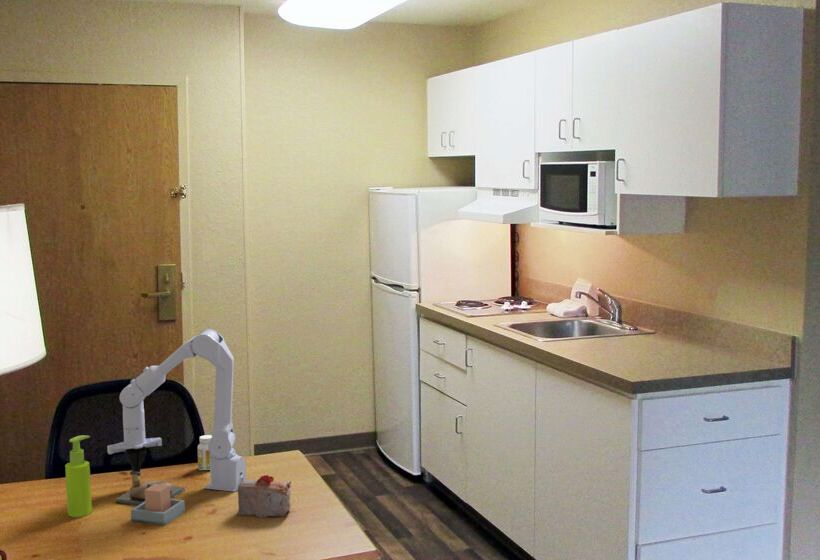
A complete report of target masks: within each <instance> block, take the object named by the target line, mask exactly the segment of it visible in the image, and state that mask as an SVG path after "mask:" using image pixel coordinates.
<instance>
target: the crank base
mask: <svg viewBox="0 0 820 560" xmlns="http://www.w3.org/2000/svg"><path fill="white" fill-rule="evenodd" d="M183 491H184V492H185V491H186V487H185V486H177V485H172V491H171V492H170V499H172V498H173V499H174V498H176V497H177V496H178V495H180V494H182V493H183ZM175 496H176V497H175ZM116 502H119V503H118V504H125V503H127V504H126V505H136V506H138V505H140V504H141V503H143V502H145V499H137V498H133V497H131V496H130V490H129V491H127V492H126V493H123V494H122V495H120V496H118V497H116V498H115V503H116Z"/></svg>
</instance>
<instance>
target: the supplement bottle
mask: <svg viewBox="0 0 820 560" xmlns="http://www.w3.org/2000/svg"><path fill="white" fill-rule="evenodd" d="M211 438H212V434H206V435H205V434H204V435H201V436H199V444H198V445H197V465H198V466H197V467H198V470H199V471H201V470H210V452H209V450H208V444H209V442H210V440H211Z"/></svg>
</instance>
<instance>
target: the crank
mask: <svg viewBox="0 0 820 560" xmlns="http://www.w3.org/2000/svg"><path fill="white" fill-rule="evenodd" d="M141 473H142V472H141V471H140V472H133V471H130V473H129V474H130V476H131V480H132V481H131V482H132V486H130V488H129V491H130V496H131V497H133V498H137V499H145V489H147V488H149V487H150V486H152V485H154V484H158V485H168V486H170V492H171V491H172V486H173V485H172V484H171V483H170V482H168V481H164V480H148V481H142V482H141V475H142V474H141Z"/></svg>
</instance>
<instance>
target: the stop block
mask: <svg viewBox="0 0 820 560" xmlns="http://www.w3.org/2000/svg"><path fill="white" fill-rule="evenodd" d="M169 508H171V501H170V486H168V485H158V484H154V485H152V486H150V487H149V488H147V489H145V510H147V511H155V512H164V511H166V510H168V509H169Z"/></svg>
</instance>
